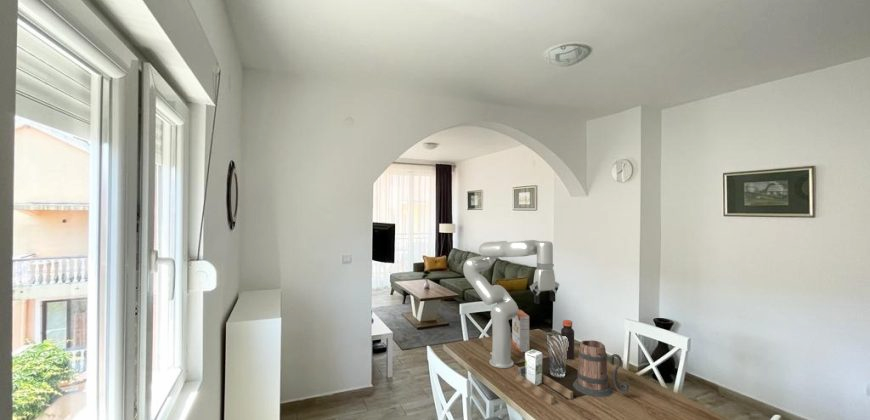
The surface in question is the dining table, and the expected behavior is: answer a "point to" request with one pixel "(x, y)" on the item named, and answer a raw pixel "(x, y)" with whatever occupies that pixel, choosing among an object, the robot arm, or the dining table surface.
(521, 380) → the channel
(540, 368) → the syrup box
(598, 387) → the tankard
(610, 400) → the dining table surface
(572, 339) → the bottle
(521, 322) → the cracker box
